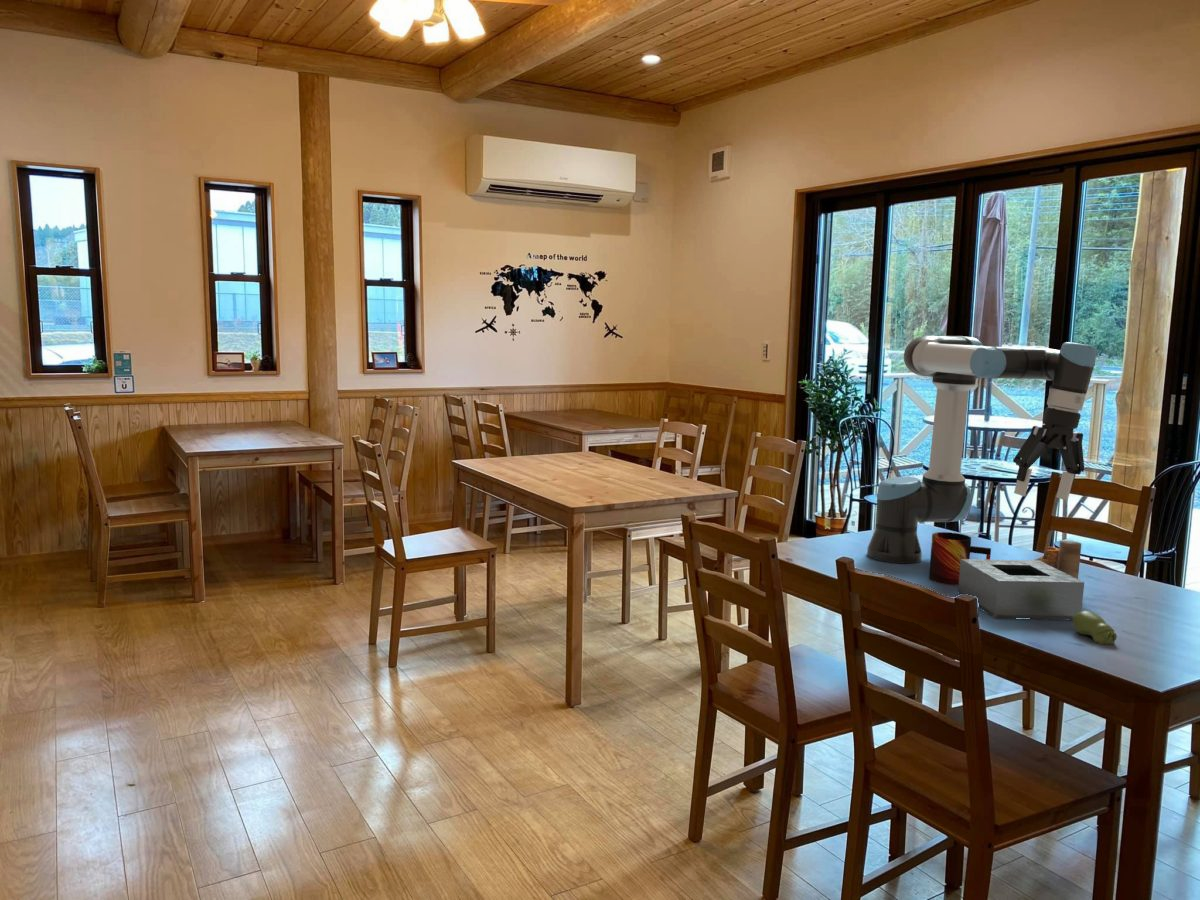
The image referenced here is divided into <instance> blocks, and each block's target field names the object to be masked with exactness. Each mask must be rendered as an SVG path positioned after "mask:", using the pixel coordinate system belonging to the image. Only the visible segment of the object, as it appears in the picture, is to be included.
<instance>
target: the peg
mask: <svg viewBox="0 0 1200 900" xmlns="http://www.w3.org/2000/svg"><path fill="white" fill-rule="evenodd" d="M1058 548H1059V555H1058V566H1057V569H1058V570H1060V571H1062V572H1064V573H1066V574H1068V575H1070V576H1072V577H1074V578H1076V579H1078V580H1079V575H1080V562H1081V551H1082V543H1081V542H1079V541H1073V540H1060V541H1059V546H1058Z"/></svg>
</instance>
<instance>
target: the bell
mask: <svg viewBox="0 0 1200 900" xmlns="http://www.w3.org/2000/svg"><path fill="white" fill-rule="evenodd" d="M1058 555H1059V547H1054V546H1047V547H1046V548H1045V551H1044V553H1043V556H1040V557H1038V558H1035V559H1034V560H1036V561H1041V562H1043V563H1045V564H1047V565H1049V566H1051V567H1053V568H1056V569H1057V566H1058Z"/></svg>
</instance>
